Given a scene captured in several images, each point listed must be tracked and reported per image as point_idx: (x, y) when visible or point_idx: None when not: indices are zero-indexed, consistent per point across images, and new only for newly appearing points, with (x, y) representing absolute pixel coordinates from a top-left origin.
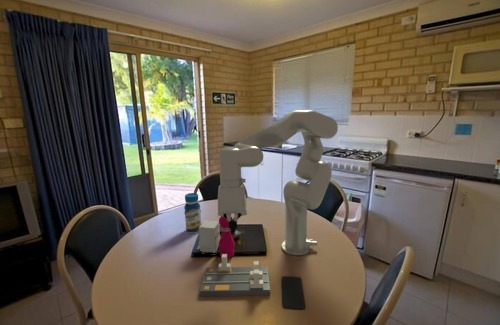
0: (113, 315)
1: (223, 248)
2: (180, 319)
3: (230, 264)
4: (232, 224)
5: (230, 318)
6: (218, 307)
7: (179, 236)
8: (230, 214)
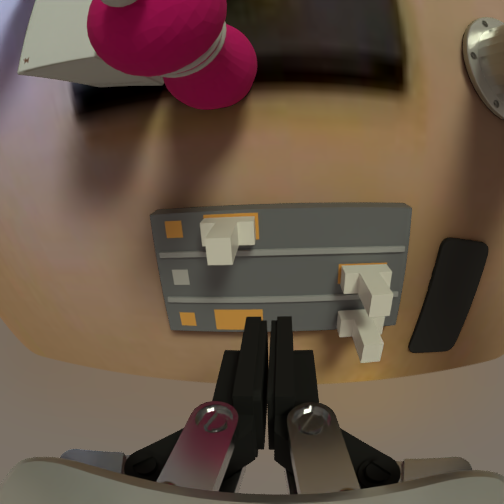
0: (41, 348)
1: (196, 107)
2: (161, 376)
3: (253, 225)
4: (265, 415)
5: None
6: None
7: (21, 14)
8: (224, 467)
